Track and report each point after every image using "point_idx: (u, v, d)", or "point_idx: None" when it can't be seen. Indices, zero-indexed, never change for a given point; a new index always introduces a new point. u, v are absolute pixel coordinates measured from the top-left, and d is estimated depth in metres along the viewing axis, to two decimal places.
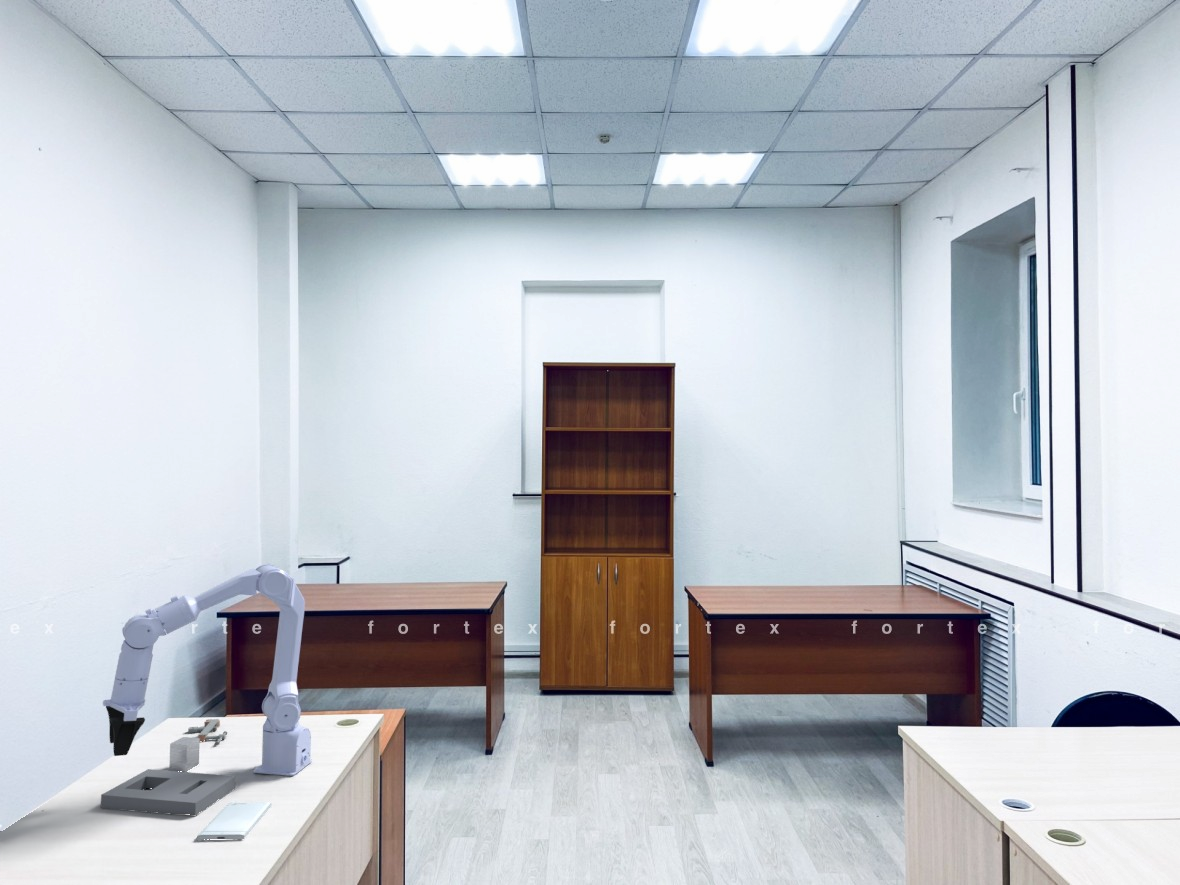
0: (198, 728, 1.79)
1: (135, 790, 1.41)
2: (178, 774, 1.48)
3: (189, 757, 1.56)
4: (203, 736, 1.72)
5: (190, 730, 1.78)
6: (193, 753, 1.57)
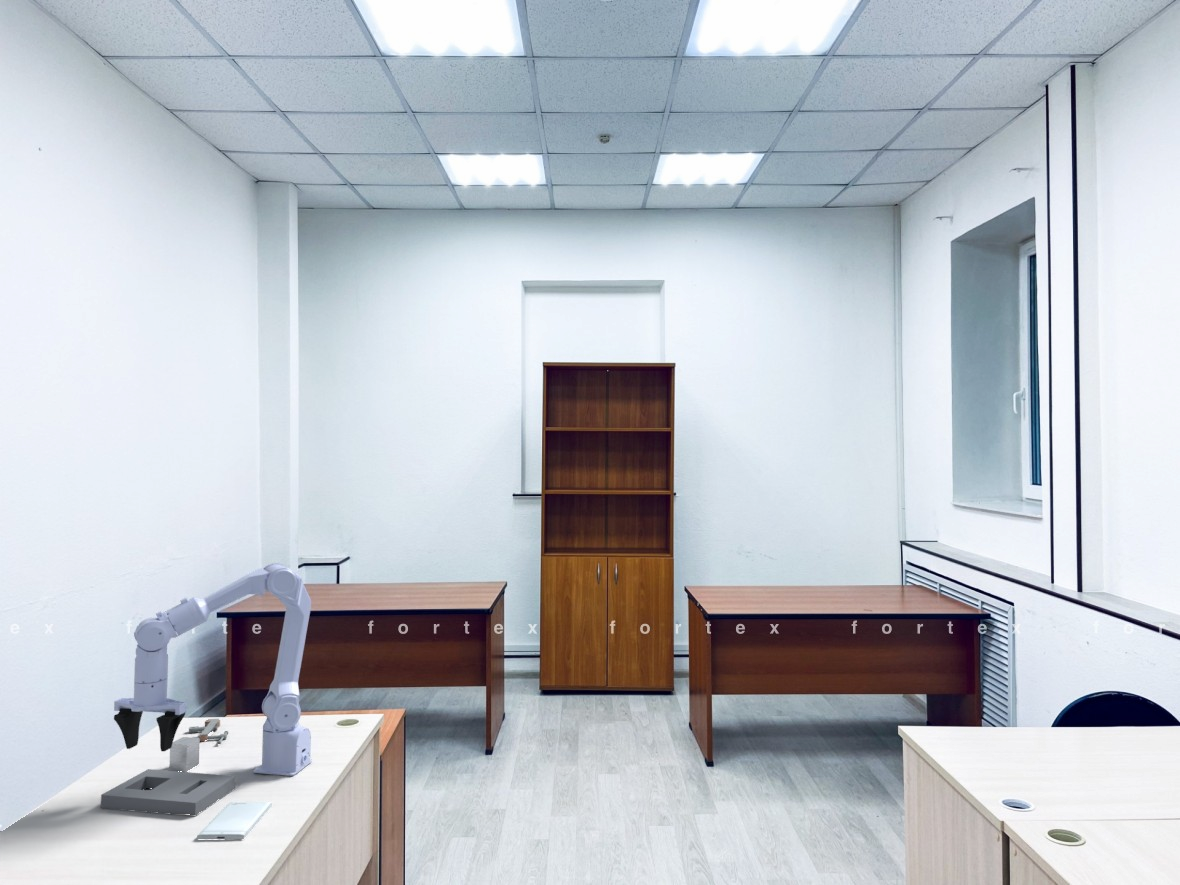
0: (199, 728, 1.79)
1: (135, 790, 1.41)
2: (178, 774, 1.48)
3: (189, 757, 1.56)
4: (204, 736, 1.73)
5: (191, 730, 1.78)
6: (193, 753, 1.57)
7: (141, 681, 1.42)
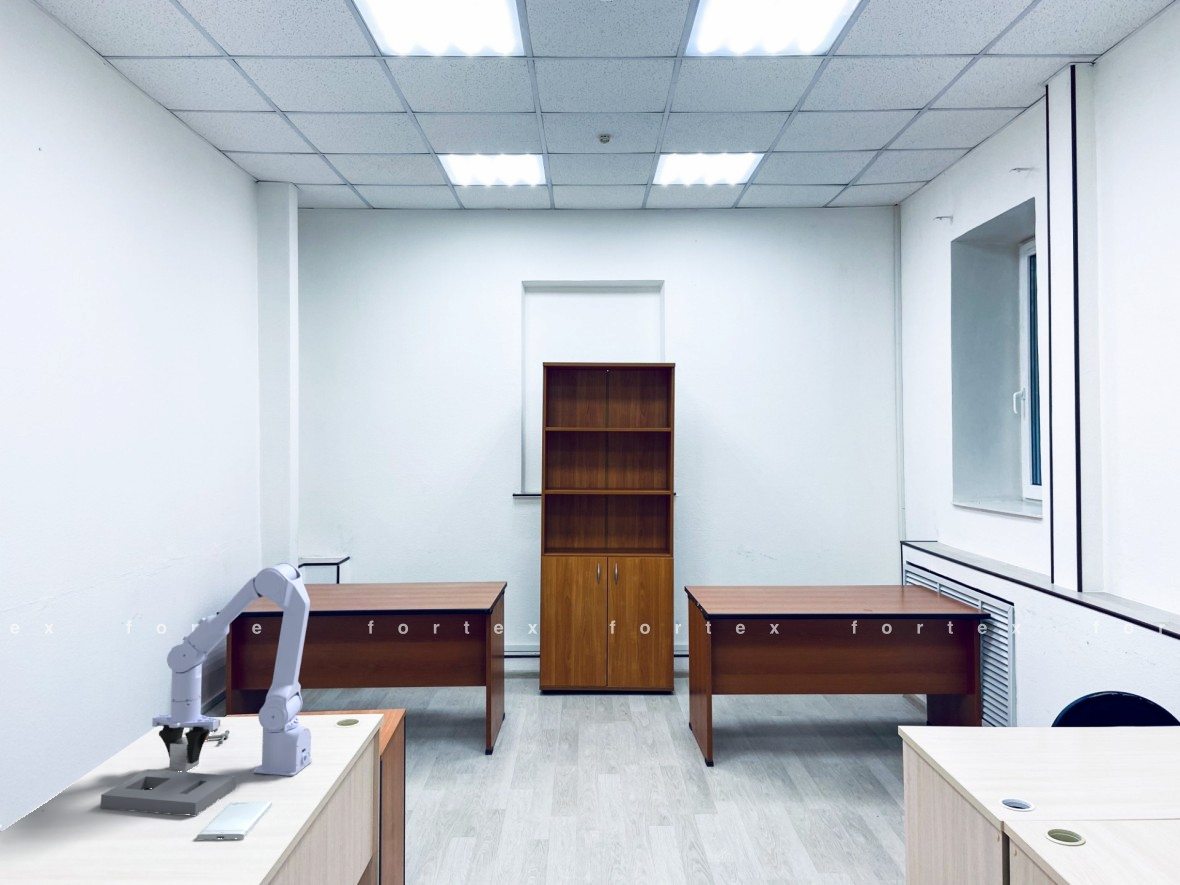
0: None
1: (135, 790, 1.41)
2: (178, 774, 1.48)
3: None
4: None
5: None
6: None
7: (172, 699, 1.55)
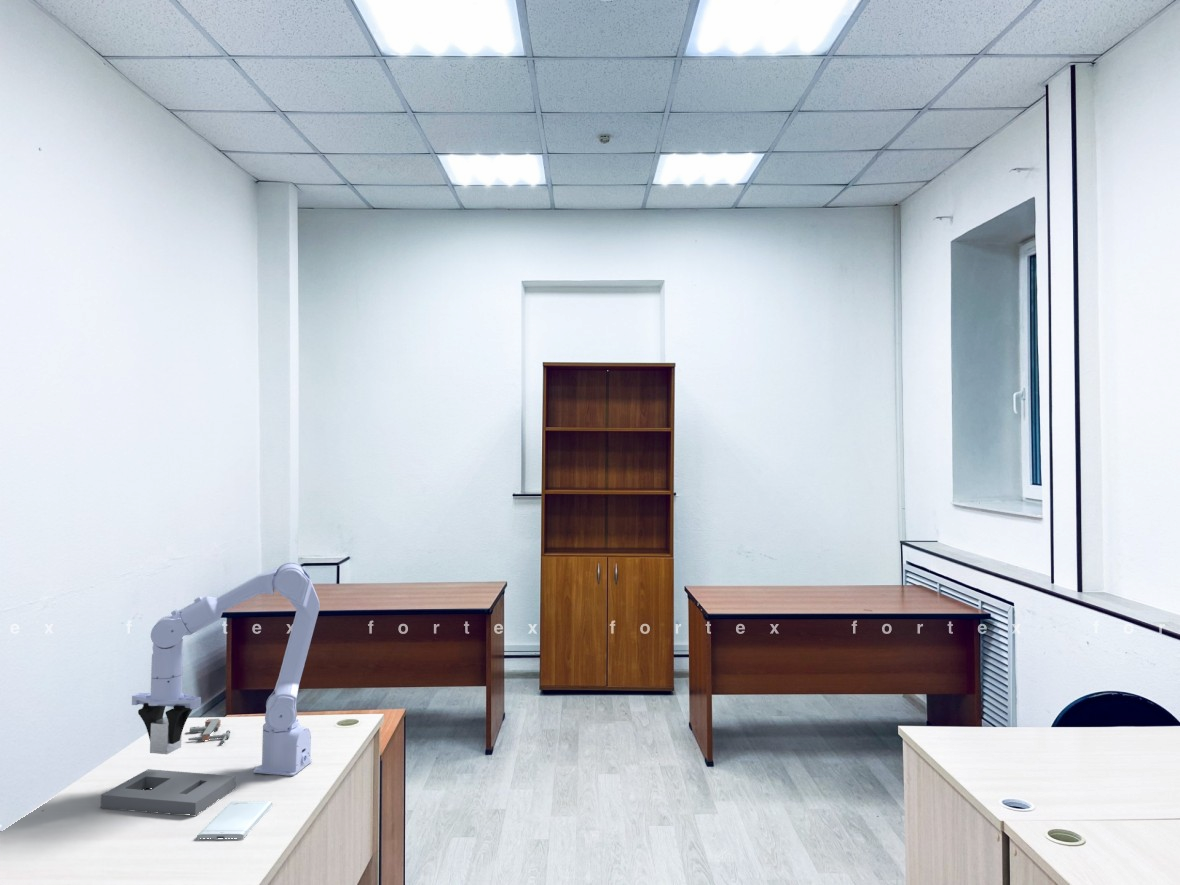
0: (200, 728, 1.79)
1: (135, 790, 1.41)
2: (178, 774, 1.48)
3: None
4: (207, 735, 1.73)
5: (192, 730, 1.78)
6: None
7: (155, 676, 1.48)
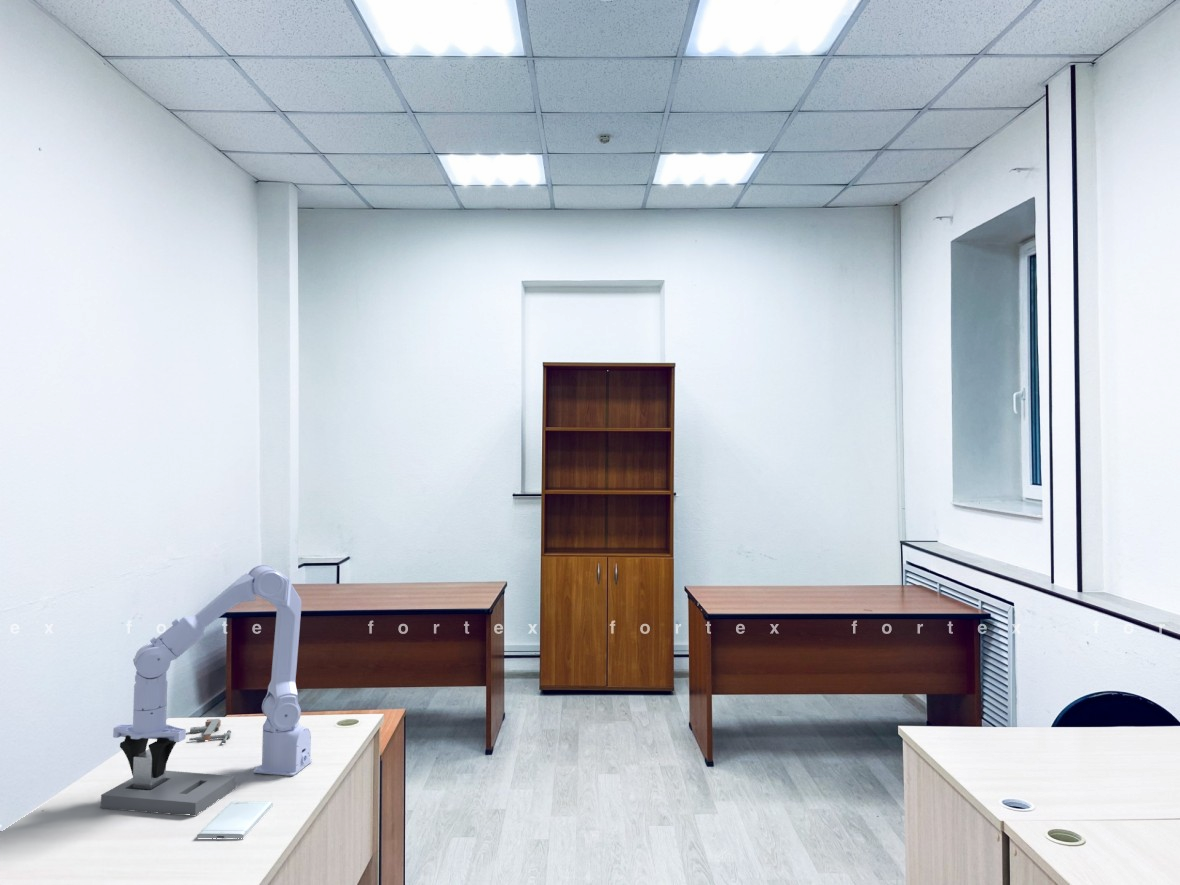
0: (200, 728, 1.79)
1: (135, 790, 1.41)
2: (178, 774, 1.48)
3: None
4: (208, 735, 1.73)
5: (192, 730, 1.78)
6: None
7: (140, 708, 1.42)
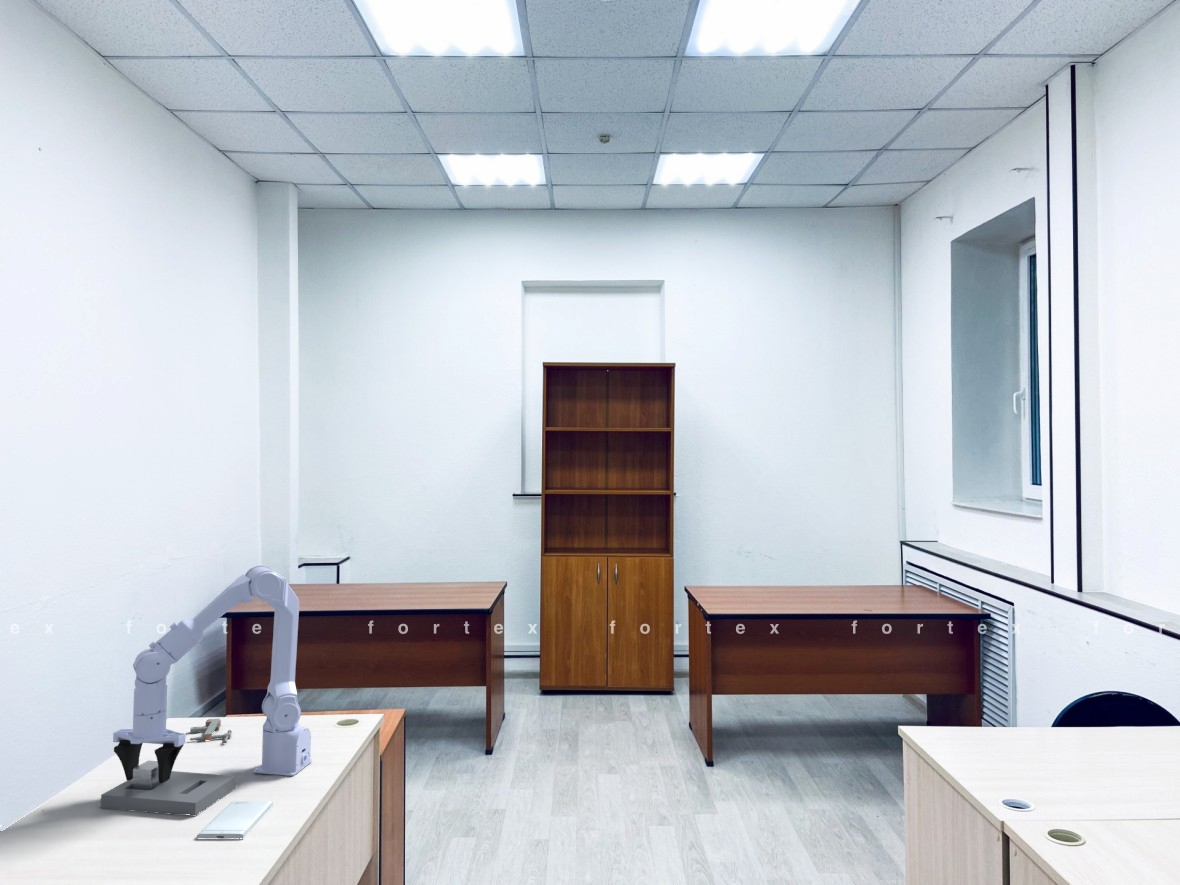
0: (200, 728, 1.79)
1: (135, 790, 1.41)
2: (178, 774, 1.48)
3: (154, 783, 1.43)
4: (209, 735, 1.73)
5: (192, 730, 1.78)
6: None
7: (140, 713, 1.42)
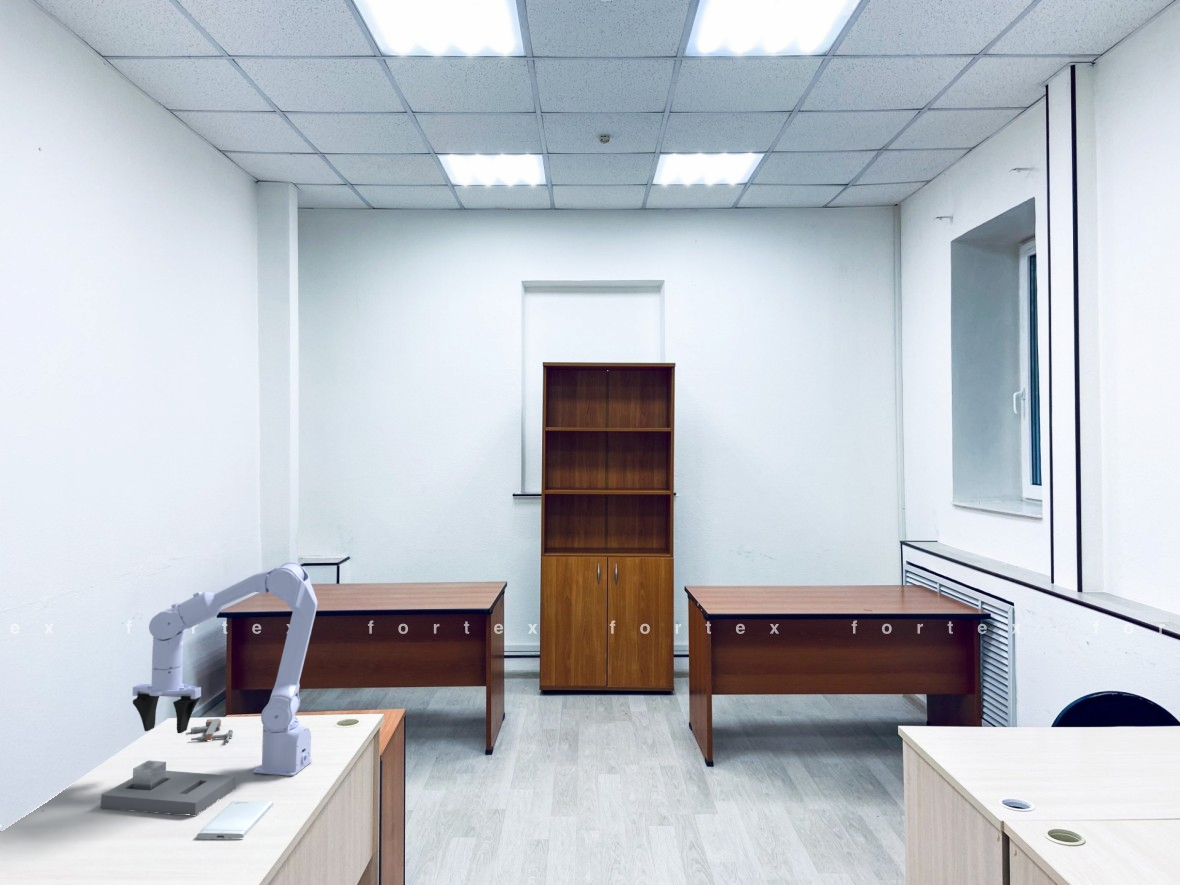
0: (201, 728, 1.79)
1: (135, 790, 1.41)
2: (178, 774, 1.48)
3: (154, 783, 1.43)
4: (210, 735, 1.73)
5: (193, 730, 1.78)
6: (159, 778, 1.44)
7: (154, 667, 1.52)
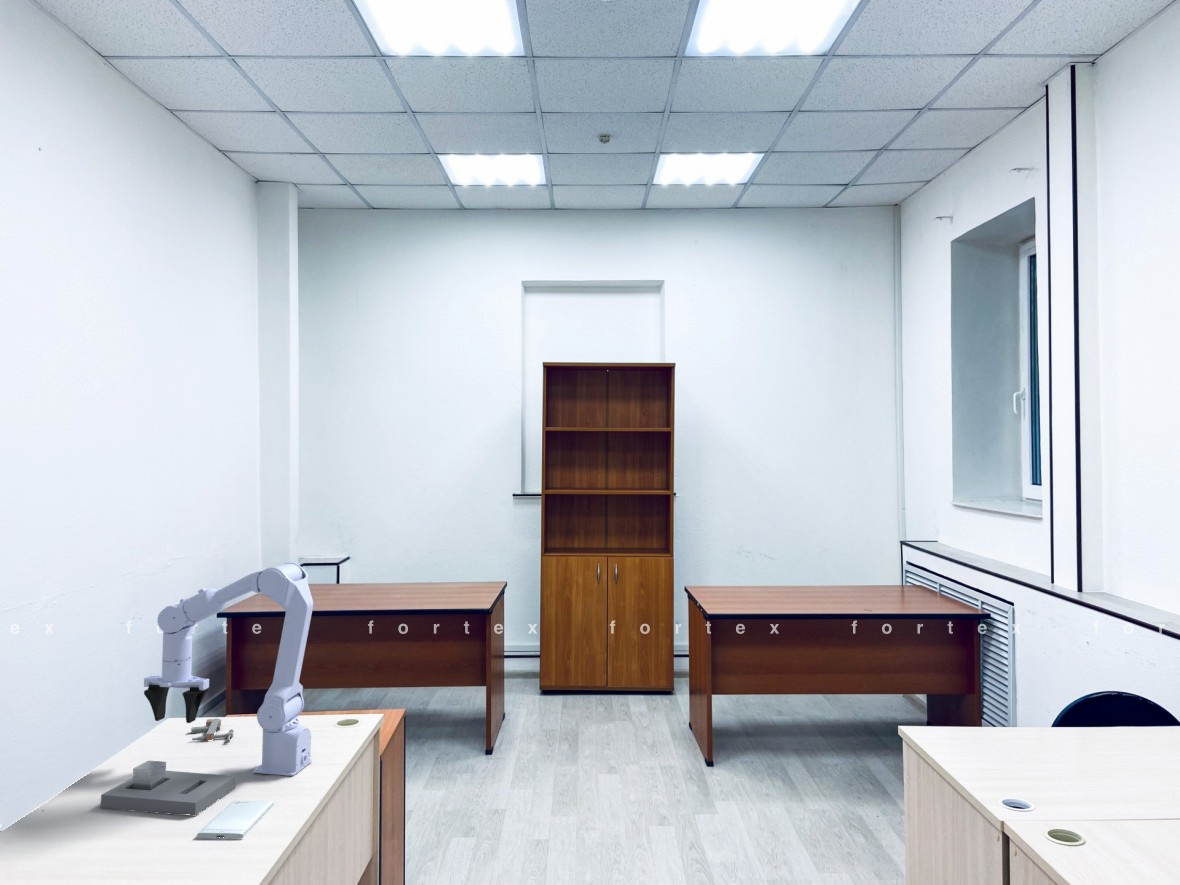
0: (201, 728, 1.79)
1: (135, 790, 1.41)
2: (178, 774, 1.48)
3: (154, 783, 1.43)
4: (211, 735, 1.73)
5: (193, 730, 1.78)
6: (159, 778, 1.44)
7: (163, 659, 1.58)
